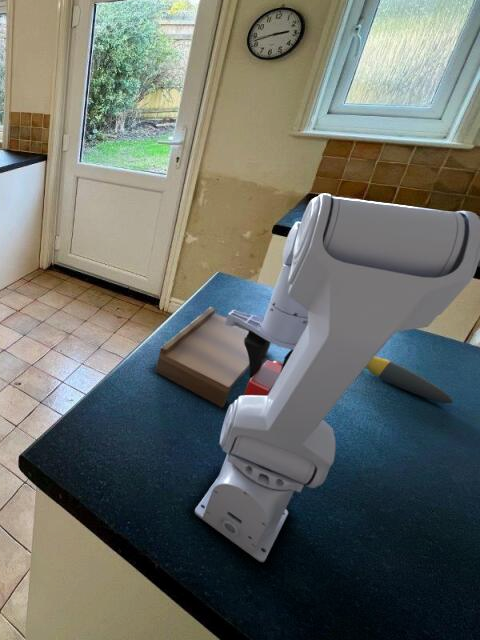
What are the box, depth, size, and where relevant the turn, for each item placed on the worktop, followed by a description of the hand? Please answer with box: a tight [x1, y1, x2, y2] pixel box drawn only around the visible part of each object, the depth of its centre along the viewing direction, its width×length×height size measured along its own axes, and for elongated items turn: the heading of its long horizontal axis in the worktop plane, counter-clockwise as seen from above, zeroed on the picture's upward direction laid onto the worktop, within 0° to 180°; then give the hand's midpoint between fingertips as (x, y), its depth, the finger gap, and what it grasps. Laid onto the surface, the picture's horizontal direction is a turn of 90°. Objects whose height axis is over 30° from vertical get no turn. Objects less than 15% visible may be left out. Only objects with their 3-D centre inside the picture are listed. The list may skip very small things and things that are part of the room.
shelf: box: [154, 306, 272, 408], centre depth 80 cm, size 22×12×6 cm, turn 130°
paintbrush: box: [364, 355, 453, 404], centre depth 77 cm, size 20×5×5 cm, turn 38°
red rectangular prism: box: [243, 359, 283, 396], centre depth 65 cm, size 10×3×3 cm, turn 129°
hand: (265, 381), depth 64 cm, fingers closed on red rectangular prism, 3 cm apart
